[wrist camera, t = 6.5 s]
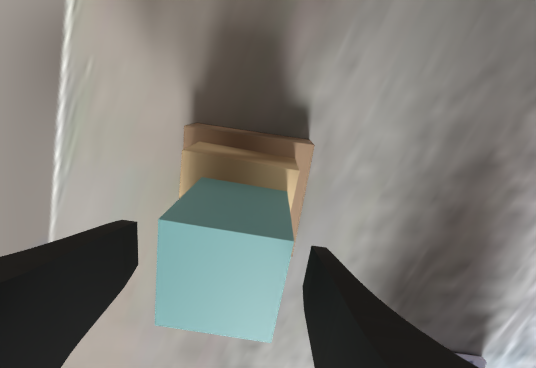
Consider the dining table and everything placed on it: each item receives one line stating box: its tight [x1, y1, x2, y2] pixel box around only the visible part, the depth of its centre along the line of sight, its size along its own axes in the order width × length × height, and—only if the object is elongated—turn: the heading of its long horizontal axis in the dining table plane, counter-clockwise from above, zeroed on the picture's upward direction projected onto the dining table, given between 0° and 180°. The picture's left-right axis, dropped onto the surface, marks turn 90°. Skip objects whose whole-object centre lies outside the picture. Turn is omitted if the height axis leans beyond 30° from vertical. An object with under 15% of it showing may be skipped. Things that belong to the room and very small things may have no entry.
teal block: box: [155, 177, 294, 343], centre depth 11 cm, size 4×4×5 cm
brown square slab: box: [183, 123, 315, 257], centre depth 18 cm, size 8×8×3 cm
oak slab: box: [179, 142, 300, 212], centre depth 15 cm, size 6×6×3 cm
